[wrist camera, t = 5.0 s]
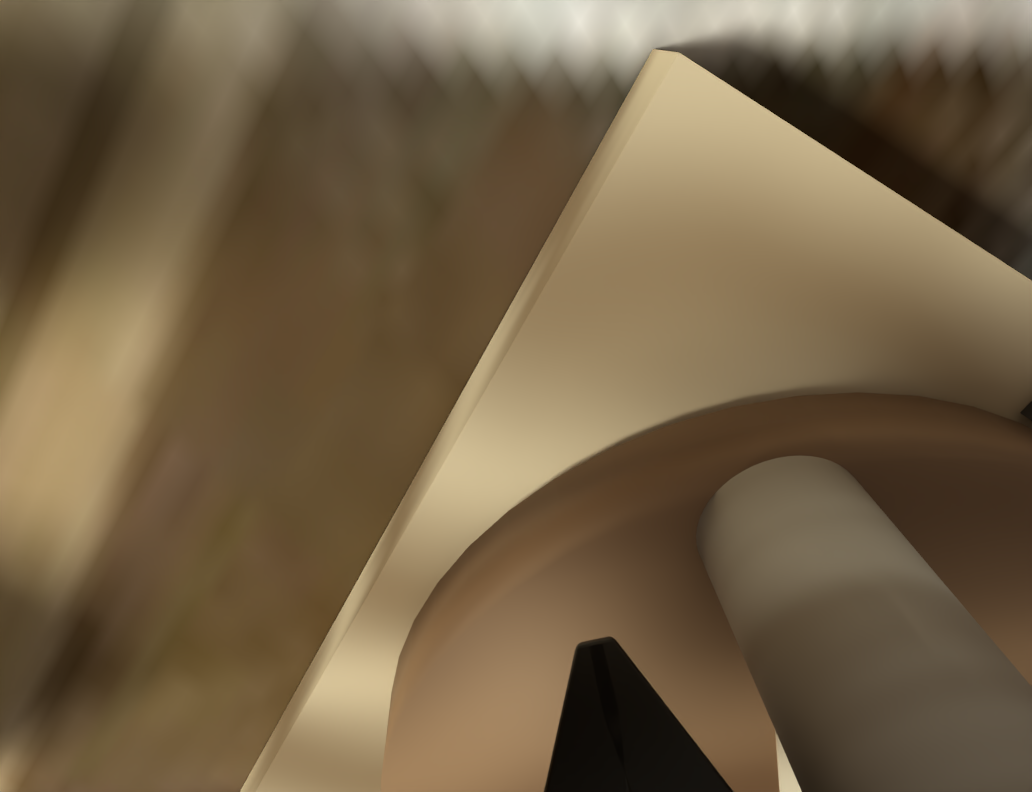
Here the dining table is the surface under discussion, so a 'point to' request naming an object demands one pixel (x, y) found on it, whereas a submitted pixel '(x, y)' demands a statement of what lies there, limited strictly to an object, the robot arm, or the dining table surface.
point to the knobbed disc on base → (752, 604)
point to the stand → (664, 355)
